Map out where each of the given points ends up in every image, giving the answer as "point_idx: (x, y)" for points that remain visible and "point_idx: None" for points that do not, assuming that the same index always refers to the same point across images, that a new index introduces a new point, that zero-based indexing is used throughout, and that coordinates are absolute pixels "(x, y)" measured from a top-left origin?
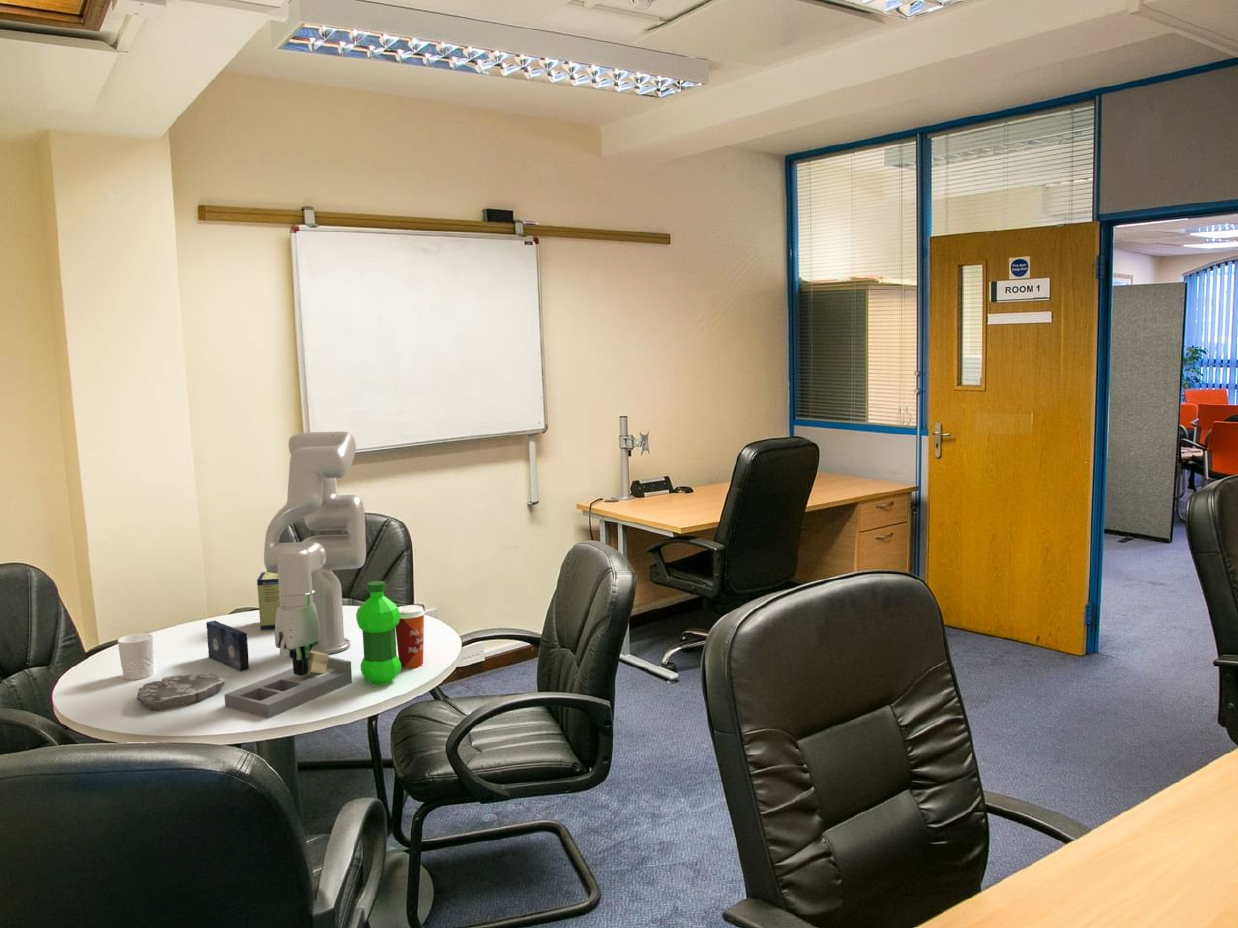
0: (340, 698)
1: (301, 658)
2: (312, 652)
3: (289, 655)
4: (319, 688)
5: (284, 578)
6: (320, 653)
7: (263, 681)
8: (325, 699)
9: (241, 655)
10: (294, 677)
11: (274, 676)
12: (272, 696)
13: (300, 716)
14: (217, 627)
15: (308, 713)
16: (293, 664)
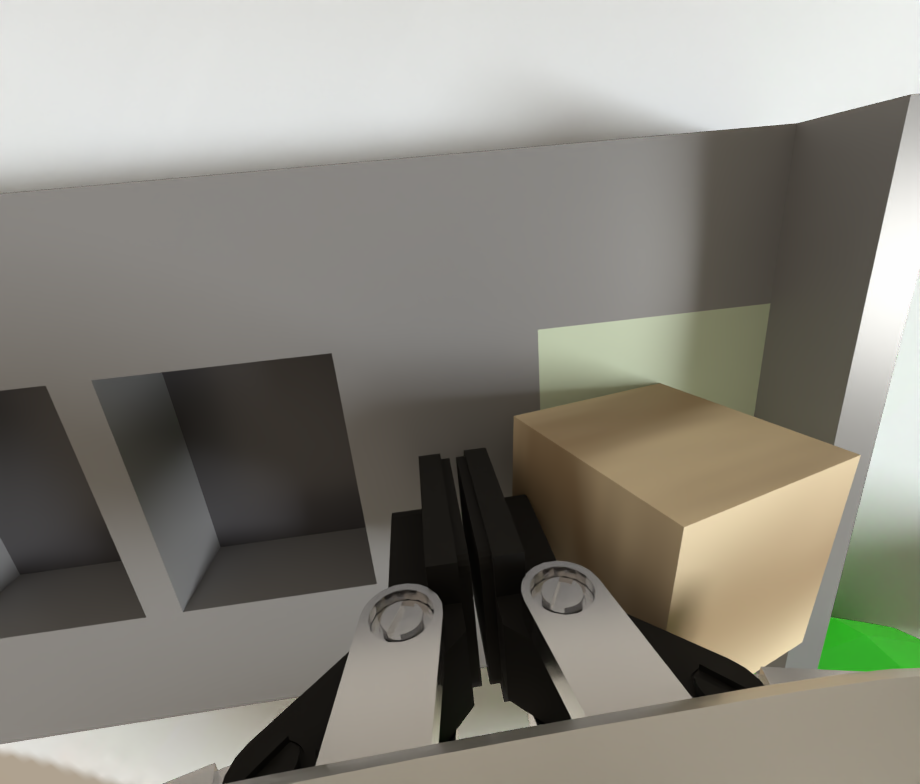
0: (485, 693)
1: (492, 645)
2: (701, 632)
3: (303, 720)
4: None
5: None
6: (762, 626)
7: (166, 242)
8: None
9: None
10: (437, 411)
11: (332, 205)
12: (64, 639)
13: (196, 743)
14: None
15: (249, 738)
16: (391, 567)
